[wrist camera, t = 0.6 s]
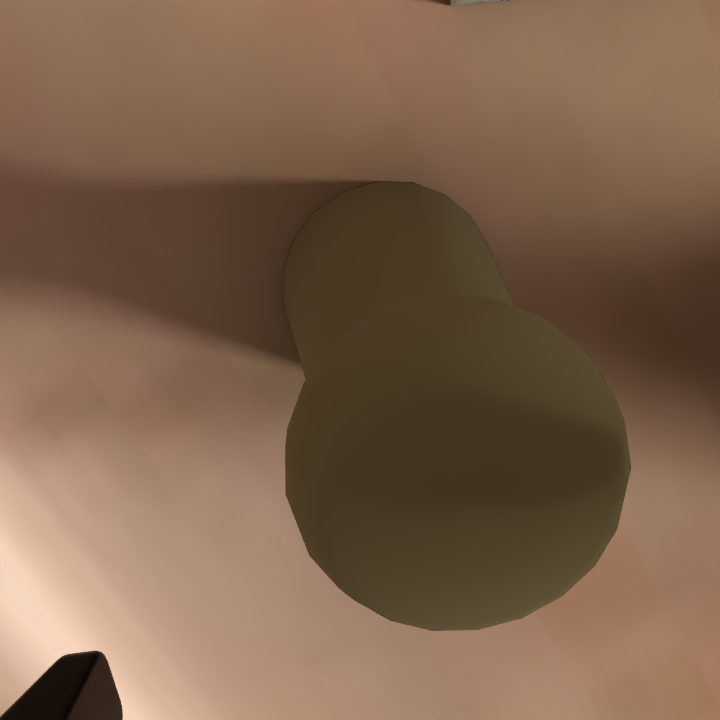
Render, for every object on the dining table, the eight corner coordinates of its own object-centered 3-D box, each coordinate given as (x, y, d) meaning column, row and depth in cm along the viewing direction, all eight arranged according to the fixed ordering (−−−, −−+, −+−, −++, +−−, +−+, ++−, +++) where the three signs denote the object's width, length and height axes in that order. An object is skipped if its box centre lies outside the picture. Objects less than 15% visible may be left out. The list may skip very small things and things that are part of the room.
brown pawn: (243, 240, 18) (154, 442, 8) (447, 141, 17) (636, 225, 7) (338, 417, 20) (365, 750, 10) (522, 335, 20) (745, 603, 10)
